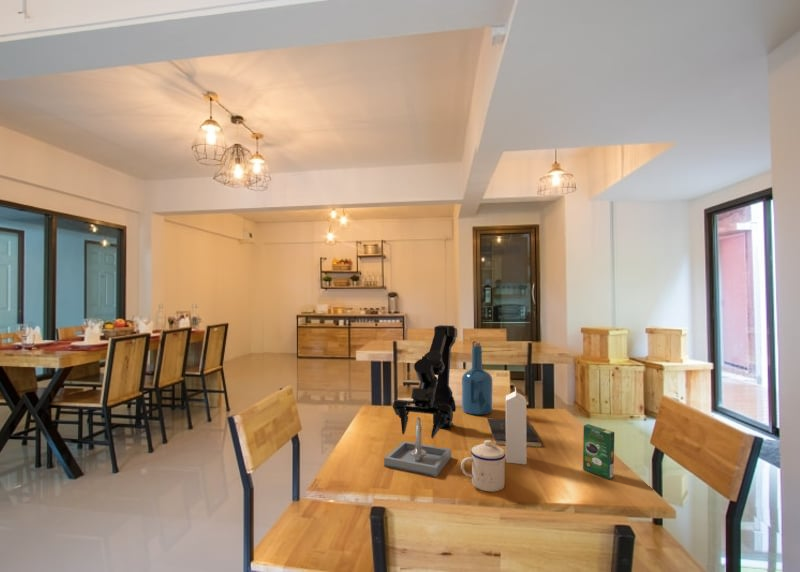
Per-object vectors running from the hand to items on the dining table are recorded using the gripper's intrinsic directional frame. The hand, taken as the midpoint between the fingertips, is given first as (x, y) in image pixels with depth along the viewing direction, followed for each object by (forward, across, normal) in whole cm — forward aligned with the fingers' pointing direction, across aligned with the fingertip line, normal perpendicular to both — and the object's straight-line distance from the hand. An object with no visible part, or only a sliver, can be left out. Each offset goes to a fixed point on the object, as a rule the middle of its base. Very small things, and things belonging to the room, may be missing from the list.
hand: (417, 435), depth 118 cm
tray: (+5, 0, +7) cm, 8 cm away
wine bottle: (-36, +10, +48) cm, 60 cm away
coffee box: (-2, +51, +14) cm, 53 cm away
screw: (+4, 0, +7) cm, 8 cm away
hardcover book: (-19, +26, +32) cm, 45 cm away
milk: (-3, +28, +15) cm, 32 cm away
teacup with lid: (+11, +20, +2) cm, 23 cm away
